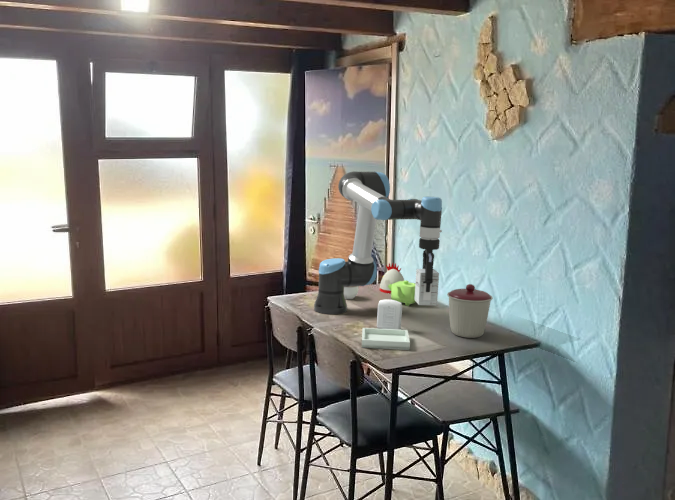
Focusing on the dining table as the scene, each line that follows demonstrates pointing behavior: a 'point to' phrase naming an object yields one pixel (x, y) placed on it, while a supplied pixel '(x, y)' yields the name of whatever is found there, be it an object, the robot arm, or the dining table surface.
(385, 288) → the kitchen timer
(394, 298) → the kettle
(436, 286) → the supplement box
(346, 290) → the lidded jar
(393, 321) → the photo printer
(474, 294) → the canister
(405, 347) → the tray
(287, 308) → the dining table surface
